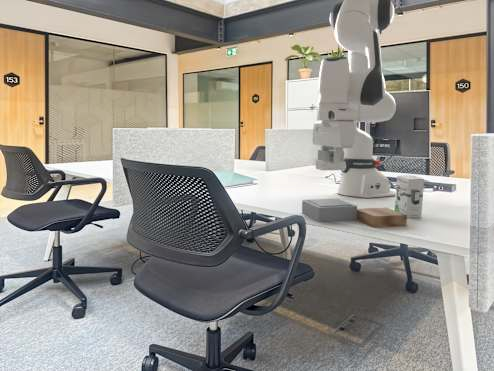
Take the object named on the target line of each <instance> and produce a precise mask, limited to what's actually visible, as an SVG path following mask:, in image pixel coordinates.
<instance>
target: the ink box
mask: <svg viewBox="0 0 494 371" xmlns="http://www.w3.org/2000/svg"><path fill="white" fill-rule="evenodd" d="M424 186H425V179H424V178H422V177H419V176H417V175H413V174H411V175H410V174H409V175H408V174H407V175H406V174H405V175H397V178H396V191H395V193H396V195H395V201H394V202H395V204H394V210H395V211H397V212H400V213H403V214H406V215H407V219H408V218H410V219H411V218H414V219H417V218H418V219H419V218H422V212H423V200H424V199H423V198H424Z"/></svg>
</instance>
